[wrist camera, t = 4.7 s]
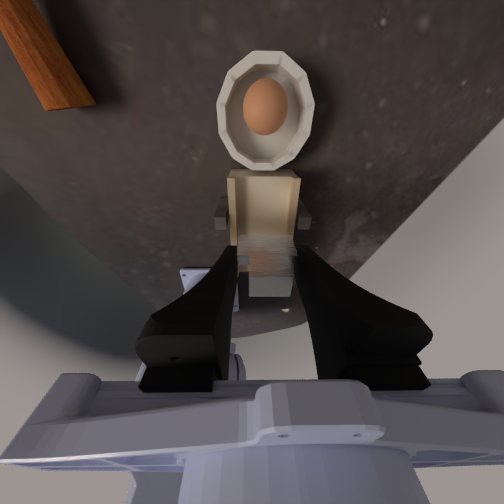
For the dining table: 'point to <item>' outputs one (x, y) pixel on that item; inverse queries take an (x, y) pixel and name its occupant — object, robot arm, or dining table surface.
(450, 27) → the dining table surface
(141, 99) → the dining table surface
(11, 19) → the kendama
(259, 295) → the gate
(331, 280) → the robot arm
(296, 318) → the dining table surface
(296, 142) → the white round shallow bowl
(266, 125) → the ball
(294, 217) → the wooden box
